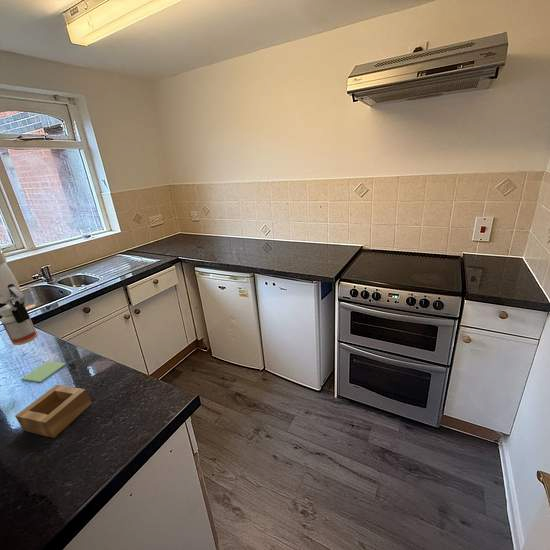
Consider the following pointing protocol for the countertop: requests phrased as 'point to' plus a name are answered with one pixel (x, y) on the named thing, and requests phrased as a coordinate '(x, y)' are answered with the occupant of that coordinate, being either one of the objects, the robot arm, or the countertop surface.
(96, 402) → the countertop surface
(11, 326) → the pill bottle
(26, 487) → the countertop surface
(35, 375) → the mat
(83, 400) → the box
